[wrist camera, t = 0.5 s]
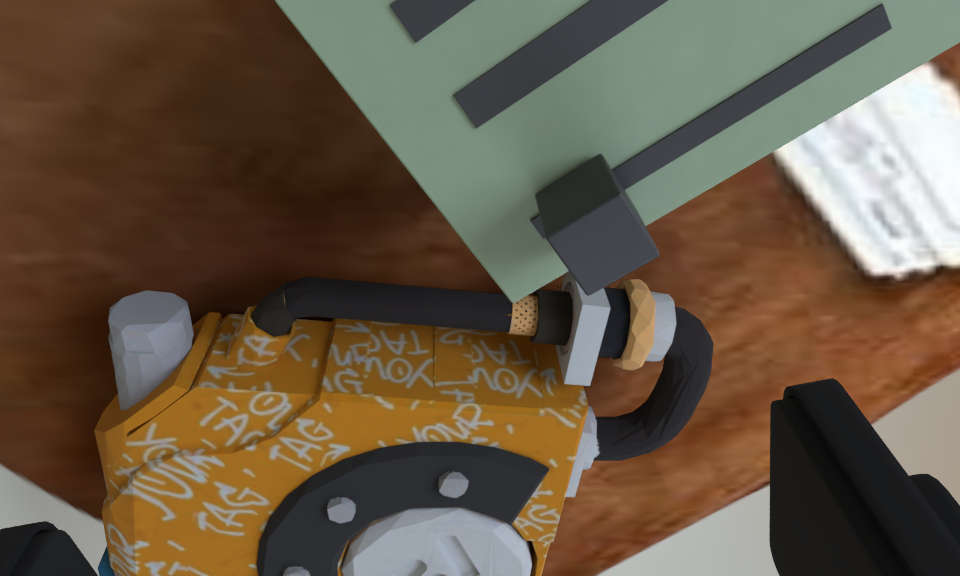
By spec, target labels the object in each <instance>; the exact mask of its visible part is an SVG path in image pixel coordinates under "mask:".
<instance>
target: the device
mask: <svg viewBox="0 0 960 576" xmlns="http://www.w3.org/2000/svg"><path fill="white" fill-rule="evenodd" d="M309 316H315V317H327V318H335V319H334V320H333V321H332V322H327V321H314V320H302V319H297V318H302V317H309ZM108 322H109V327H110V333H109V337H108V338H109V343H110V348H111V351H112V359H113V364H114V369H115V379H116V384H117V389H118V394H117V395H116V396H115V397H114V399H113V400H112V401H111V402H110V404H109V405H108V406H107V408H106V409H105V410H104V411H103V413H102V415H101V417H100V419H99V421H98V423H97V425H96V428H95V430H94V431H95V436H96V440H97V445H98V449H99V454H100V458H101V463H102V468H103V473H104V478H105V483H106V488H107V493H108V495H107V497H106V499H105V501H104V504H103V508H102V517H103V523H104V529H105V534H106V541H107V547H106V549H105V552H104V554H103V557H102V559H101V562H100V564H99V566H98V571H99V575H100V576H541V575H542V571H543V567H544V563H545V559H546V555H547V552H548V548H549V545H550V542H554V538H555V534H556V530H557V526H558V523H559V519H560V515H561V511H562V507H563V504H564V500H565V497H575V494H576V491H577V487H578V484H579V480H580V477H581V473H582V470H583V469H590V467H591V465H592V462H593V461H621V460H625V459H628V458H632V457H636V456H639V455H643V454H647V453H650V452H652V451H654V450H656V449H658V448H660V447H661V446H663V445H665V444H666V443H668V442H669V441H670V440H672V439H673V438H674V437H675V436H677V434H678V433H679V432H680V431H681V430H682V428H683V427H684V426H685V425H686V423H687V422H688V421H689V420H690V418H691V416H692V414H693V412H694V410H695V409H696V407H697V405H698V403H699V401H700V399H701V397H702V395H703V393H704V391H705V389H706V386H707V383H708V380H709V377H710V374H711V366H712V354H713V341H712V339H711V336H710V335H709V333H708V332H707V330H706V328H705V327H704V325H703V324H702V322H701V321H700V320H699V319H698V318H696V317H695V316H694V315H692V314H691V313H689V312H688V311H686V310H685V309H682V308H678V307H675V305H674V300H673V299H672V298H671V296H670V295H669V294H663V293H657V292H651V291H650V290H649V288H648V286H647V285H646V283H644V282H643V281H641V280H640V279H635V280H622V282H621V283H620V284H619V286H618V287H617V288H616V289H615V288H605V287H604V288H602V289H601V290H599V291H597V292H595V293H594V294H592V295H590V296H587V295H586V294H585V293H584V291H583V290H582V289H581V287H580V286H579V284H578V283H577V282H576V280H575V279H574V277H573V276H572V275H571V273H570V272H569V271H568V272H566V273H565V274H564V279H563V283H562V288H561V291H551V290H536V291H535V292H534V296H530V295H527V296H525V297H524V298H522V299H520V300H519V301H517V302H515V303H512V302H511V301H510V300H509V299H508V297H507V296H506V295H505V294H496V293H485V292H474V291H463V290H451V289H440V288H429V287H417V286H406V285H395V284H383V283H372V282H361V281H350V280H338V279H327V278H316V277H304V278H301V279H298V280H295V281H292V282H286V283H284V284H283V285H281V286H280V287H278V288H277V289H276V290H274V291H273V292H271V293H270V294H268V295H267V296H266V297H264V298H263V299H261V300H260V302H259V304H258V305H256V306H251V307H248V308H247V310H246V312H245V314H244V315H240V314H228V315H227V316H226V317H224V318H222V316H221V313H216V312H209V313H208V314H206V315H205V316H204V317H203V318H201V319H200V320H199V321H197V322H196V323H195V324H194V325H192V322H191V317H190V312H189V308H188V304H187V301H185V300H184V299H182V298H180V297H179V296H177V295H175V294H174V293H166V292H157V291H148V290H146V291H143V292H140V293H136V294H133V295H130V296H127V297H123V298H122V299H121V300H119V301H118V302H117V303H115V304H114V305H113V306H112V307H110V310H109V319H108ZM664 356H665V359H664V365H663V370H662V372H661V374H660V377H659V379H658V381H657V383H656V385H655V387H654V389H653V391H652V393H651V395H650V396H649V398H648V400H647V401H646V402H645V403H643V404H642V405H641V406H640V407H639V408H637V409H636V410H635V411H633V412H631V413H627V414H624V415H620V416H617V417H595V416H594V413H593V410H592V407H589V406H588V402H587V398H586V395H585V391H584V387H583V385H584V386H590V384H591V380H592V377H593V373H594V369H595V365H596V361H597V358H598V357H607V358H610V360H611V362H612V364H613V365H614V366H617V367H619V368H622V369H627V370H635V369H638V368H640V367H642V366H643V364H644V362H645V361H661V360H662V358H663V357H664Z"/></svg>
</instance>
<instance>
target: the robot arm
mask: <svg viewBox="0 0 960 576" xmlns="http://www.w3.org/2000/svg"><path fill="white" fill-rule="evenodd" d="M770 548H771V553H772V557H773V560H774V563H775V566H776V568H777V571H778V573H779V575H780V576H960V506H959V504H958V503H957V502H956V500H955V499H954V498H953V497H952V495H951V494H950V493H949V491H948V490H947V489H946V488H945V487H944V486H943V485H942V484H941V483H940V482H939V481H938V480H937V479H935V478H934V477H932V476H930V475H929V474H916V475H911V476H908V475H907V473H906V472H905V470H904V469H903V468H902V466H901V465H900V464H899V462H898V461H897V460H896V458H895V457H894V456H893V454H892V453H891V451H890V450H889V449H888V447H887V446H886V445H885V443H884V442H883V441H882V439H881V438H880V437H879V435H878V434H877V432H876V431H875V430H874V428H873V427H872V426H871V424H870V423H869V422H868V420H867V419H866V418H865V416H864V415H863V414H862V412H861V411H860V409H859V408H858V407H857V405H856V404H855V403H854V401H853V400H852V399H851V397H850V396H849V395H848V393H847V392H846V391H845V389H844V388H843V387H842V385H841V384H840V383H839V382H838V381H837V380H835V379H833V378H832V379H826V380H821V381H815V382H810V383H804V384H799V385H793V386H788V387H786V388H785V391H784V396H783V399H782V400H777V401H773V402H772V404H771V421H770ZM0 576H98V575H97V574H96V572H95V571H94V569H93V568H92V567H91V565H90V564H89V562H88V561H87V560H86V558H85V557H84V556H83V554H82V553H81V551H80V550H79V549H78V547H77V546H76V544H75V543H74V542H73V540H72V539H71V537H70V536H69V535H68V534H67V533H66V532H65V531H62V530H58V529H57V528H56V527H55V526H54V525H53V524H51V523H49V522H38V523H32V524H26V525H21V526H15V527H10V528H4V529H1V530H0Z"/></svg>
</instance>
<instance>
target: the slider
mask: <svg viewBox="0 0 960 576" xmlns="http://www.w3.org/2000/svg"><path fill="white" fill-rule="evenodd" d="M535 198H536V202H537V206H538V210H539V213H540V217H541V221H542V225H543V229H544V233H545V237H546V240H547V241H548V242H549V244H550V245H551V247H552V248H553V249H554V251H555V252H556V254H557V255H558V256H559V258H560V259H561V261H562V262H563V263H564V265H565V266H566V268H567V269H568V270H569V272H570V273H571V275H572V276H573V277H574V279H575V280H576V282H577V283H578V284H579V286H580V287H581V289H582V290H583V291H584V293H585V294H586V295H587V296H590V295H592V294H594V293H595V292H597V291H599V290H601V289H602V288H604V287H606V286H608V285H609V284H611V283H613V282H615V281H616V280H618V279H620V278H622V277H623V276H625V275H627V274H629V273H630V272H632V271H634V270H636V269H637V268H639V267H641V266H643V265H644V264H646V263H648V262H650V261H651V260H653V259H655V258H657V257H658V256H659V251H658V249H657V247H656V245H655V243H654V241H653V240H652V238H651V236H650V234H649V232H648V230H647V228H646V226H645V224H644V222H643V220H642V219H641V217H640V215H639V213H638V211H637V209H636V207H635V206H634V204H633V203H632V201H631V199H630V198H629V196H628V195H627V193H626V191H625V190H624V188H623V187H622V185H621V183H620V182H619V180H618V179H617V177H616V175H615V174H614V172H613V171H612V169H611V167H610V166H609V164H608V163H607V161H606V159H605V158H604V156H603V155H602V154H598V155H596V156H595V157H593V158H592V159H590V160H588V161H587V162H585V163H584V164H582V165H580V166H579V167H577V168H576V169H574V170H572V171H571V172H569V173H568V174H566V175H564V176H563V177H561V178H560V179H558V180H557V181H555V182H553V183H552V184H550V185H549V186H547V187H545V188H544V189H542V190H541V191H539V192H537V193H536V194H535Z"/></svg>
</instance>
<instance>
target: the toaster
mask: <svg viewBox="0 0 960 576" xmlns="http://www.w3.org/2000/svg"><path fill="white" fill-rule="evenodd" d="M275 2H276V3H277V5H278V6H279V7H280V8H281V10H282V11H283V12H284V13H285V15H286V16H287V17H288V19H289V20H290V21H291V22H292V24H293V25H294V26H295V27H296V29H297V30H298V31H299V33H300V34H301V35H302V36H303V38H304V39H305V40H306V41H307V43H308V44H309V45H310V47H311V48H312V49H313V50H314V52H315V53H316V54H317V55H318V57H319V58H320V59H321V61H322V62H323V63H324V64H325V66H326V67H327V68H328V69H329V71H330V72H331V73H332V75H333V76H334V77H335V78H336V80H337V81H338V82H339V83H340V85H341V86H342V87H343V89H344V90H345V91H346V92H347V94H348V95H349V96H350V97H351V99H352V100H353V101H354V103H355V104H356V105H357V106H358V108H359V109H360V110H361V111H362V113H363V114H364V115H365V117H366V118H367V119H368V120H369V122H370V123H371V124H372V125H373V127H374V128H375V129H376V131H377V132H378V133H379V134H380V136H381V137H382V138H383V140H384V141H385V142H386V143H387V145H388V146H389V147H390V148H391V150H392V151H393V152H394V154H395V155H396V156H397V157H398V159H399V160H400V161H401V162H402V164H403V165H404V166H405V168H406V169H407V170H408V171H409V173H410V174H411V175H412V176H413V178H414V179H415V180H416V182H417V183H418V184H419V185H420V187H421V188H422V189H423V190H424V192H425V193H426V194H427V196H428V197H429V198H430V199H431V201H432V202H433V203H434V204H435V206H436V207H437V208H438V210H439V211H440V212H441V213H442V215H443V216H444V217H445V218H446V220H447V221H448V222H449V224H450V225H451V226H452V227H453V229H454V230H455V231H456V232H457V234H458V235H459V236H460V238H461V239H462V240H463V241H464V243H465V244H466V245H467V246H468V248H469V249H470V250H471V252H472V253H473V254H474V255H475V257H476V258H477V259H478V260H479V262H480V263H481V264H482V266H483V267H484V268H485V269H486V271H487V272H488V273H489V274H490V276H491V277H492V278H493V280H494V281H495V282H496V283H497V285H498V286H499V287H500V288H501V290H502V291H503V292H504V294H505V295H506V296H507V297H508V299H509V300H510V301H511V302H512V303H515V302H517V301H519V300H520V299H522V298H524V297H525V296H527V295H529V294H530V293H532V292H534V291H536V290H537V289H539V288H541V287H542V286H544V285H546V284H548V283H549V282H551V281H553V280H554V279H556V278H558V277H560V276H561V275H563V274H565V273H566V272H568V271H569V270H568V269H567V268H566V266H565V265H564V263H563V262H562V261H561V259H560V258H559V256H558V255H557V254H556V252H555V251H554V249H553V248H552V247H551V245H550V244H549V242H548V241H547V240H546V237H545V233H544V229H543V225H542V221H541V217H540V213H539V210H538V206H537V202H536V198H535V194H536V193H537V192H539V191H541V190H542V189H544V188H545V187H547V186H549V185H550V184H552V183H553V182H555V181H557V180H558V179H560V178H561V177H563V176H564V175H566V174H568V173H569V172H571V171H572V170H574V169H576V168H577V167H579V166H580V165H582V164H584V163H585V162H587V161H588V160H590V159H592V158H593V157H595V156H596V155H598V154H602V155H603V156H604V158H605V159H606V161H607V163H608V164H609V166H610V167H611V169H612V171H613V172H614V174H615V175H616V177H617V179H618V180H619V182H620V183H621V185H622V187H623V188H624V190H625V191H626V193H627V195H628V196H629V198H630V199H631V201H632V203H633V204H634V206H635V207H636V209H637V211H638V213H639V215H640V217H641V219H642V220H643V222H644V224H645V226H647V225H648V224H650V223H652V222H653V221H655V220H657V219H659V218H660V217H662V216H664V215H665V214H667V213H669V212H671V211H672V210H674V209H676V208H677V207H679V206H681V205H682V204H684V203H686V202H688V201H689V200H691V199H693V198H694V197H696V196H698V195H700V194H701V193H703V192H705V191H706V190H708V189H710V188H712V187H713V186H715V185H717V184H718V183H720V182H722V181H723V180H725V179H727V178H729V177H730V176H732V175H734V174H735V173H737V172H739V171H741V170H742V169H744V168H746V167H747V166H749V165H751V164H753V163H754V162H756V161H758V160H759V159H761V158H763V157H764V156H766V155H768V154H770V153H771V152H773V151H775V150H776V149H778V148H780V147H782V146H783V145H785V144H787V143H788V142H790V141H792V140H794V139H795V138H797V137H799V136H800V135H802V134H804V133H805V132H807V131H809V130H811V129H812V128H814V127H816V126H817V125H819V124H821V123H823V122H824V121H826V120H828V119H829V118H831V117H833V116H835V115H836V114H838V113H840V112H841V111H843V110H845V109H846V108H848V107H850V106H852V105H853V104H855V103H857V102H858V101H860V100H862V99H864V98H865V97H867V96H869V95H870V94H872V93H874V92H876V91H877V90H879V89H881V88H882V87H884V86H886V85H887V84H889V83H891V82H893V81H894V80H896V79H898V78H899V77H901V76H903V75H905V74H906V73H908V72H910V71H911V70H913V69H915V68H917V67H918V66H920V65H922V64H923V63H925V62H927V61H928V60H930V59H932V58H934V57H935V56H937V55H939V54H940V53H942V52H944V51H946V50H947V49H949V48H951V47H952V46H954V45H956V44H958V43H959V42H960V0H275Z"/></svg>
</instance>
